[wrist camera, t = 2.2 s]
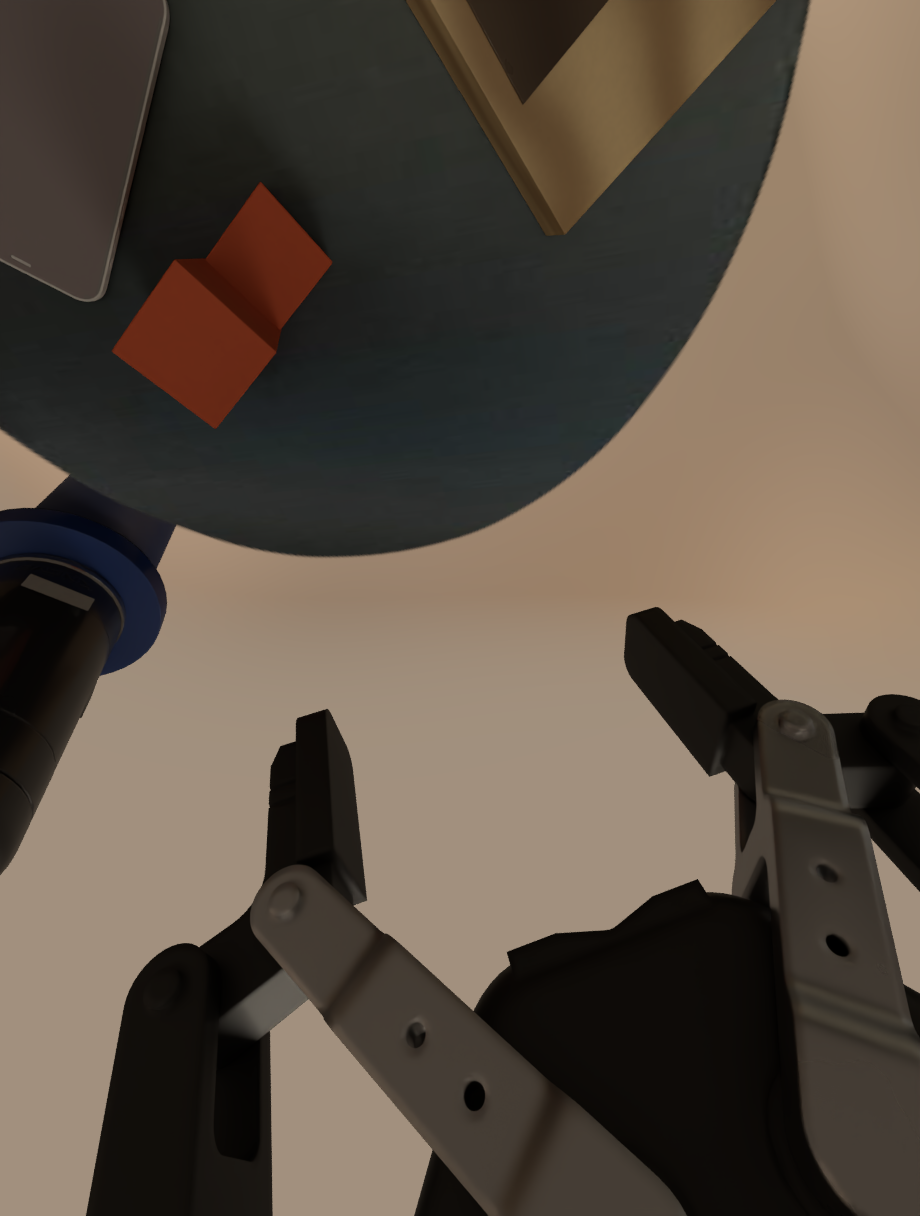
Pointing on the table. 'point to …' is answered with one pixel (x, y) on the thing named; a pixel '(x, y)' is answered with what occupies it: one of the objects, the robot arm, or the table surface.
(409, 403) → the table surface
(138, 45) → the smartphone
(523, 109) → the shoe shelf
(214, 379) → the boot
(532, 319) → the table surface
